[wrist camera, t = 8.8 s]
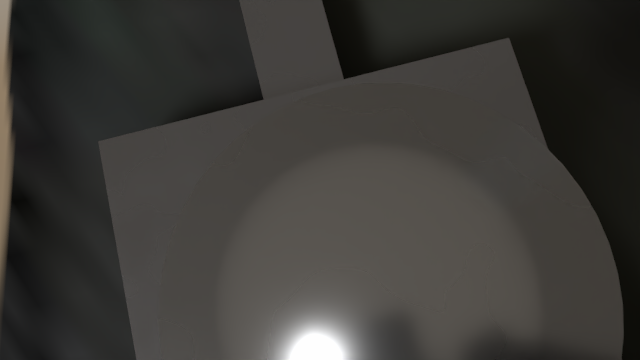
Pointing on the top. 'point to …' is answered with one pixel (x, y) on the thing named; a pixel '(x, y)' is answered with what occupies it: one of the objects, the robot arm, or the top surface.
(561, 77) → the top surface
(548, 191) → the shiny metal cylinder
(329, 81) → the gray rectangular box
